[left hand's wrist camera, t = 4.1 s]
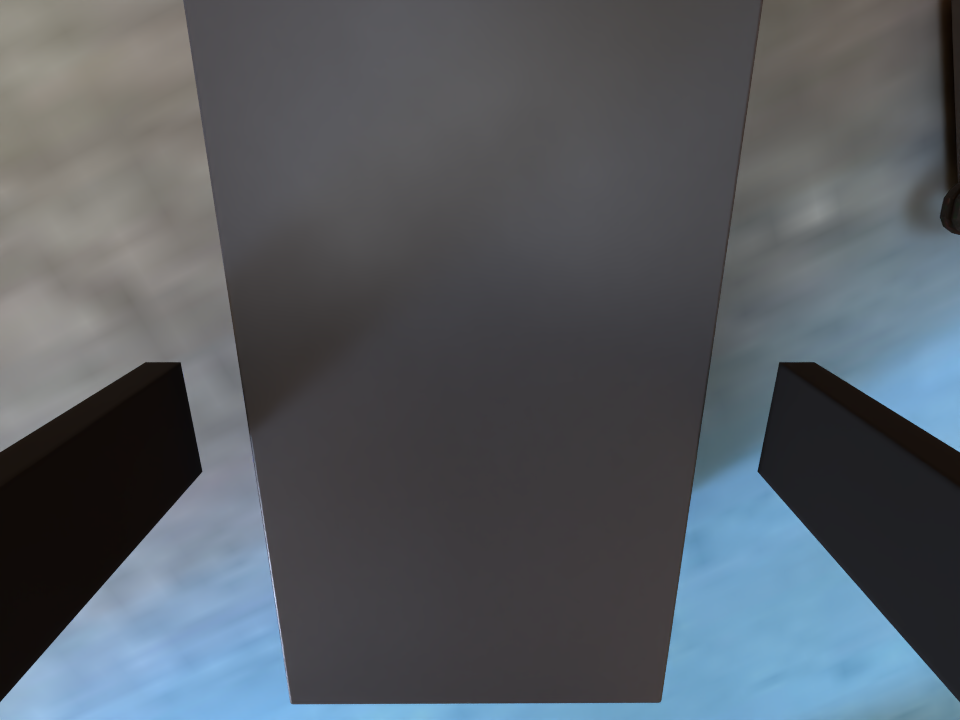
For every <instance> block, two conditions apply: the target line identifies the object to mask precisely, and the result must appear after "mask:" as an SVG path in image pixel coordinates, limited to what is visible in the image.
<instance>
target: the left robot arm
mask: <svg viewBox="0 0 960 720" xmlns="http://www.w3.org/2000/svg"><path fill="white" fill-rule="evenodd" d="M201 473H202V467H201V462H200V457H199V452H198V447H197V442H196V437H195V432H194V427H193V422H192V417H191V412H190V407H189V402H188V397H187V392H186V387H185V382H184V377H183V372H182V367H181V362H145V363H144V364H142V365H141V366H139V367H137V368H136V369H134V370H132V371H131V372H129V373H128V374H126V375H124V376H123V377H121V378H120V379H118V380H116V381H115V382H113V383H112V384H110V385H108V386H107V387H105V388H103V389H102V390H100V391H99V392H97V393H95V394H94V395H92V396H91V397H89V398H87V399H86V400H84V401H82V402H81V403H79V404H78V405H76V406H74V407H73V408H71V409H70V410H68V411H66V412H65V413H63V414H61V415H60V416H58V417H57V418H55V419H53V420H52V421H50V422H49V423H47V424H45V425H44V426H42V427H40V428H39V429H37V430H36V431H34V432H32V433H31V434H29V435H28V436H26V437H24V438H23V439H21V440H19V441H18V442H16V443H15V444H13V445H11V446H10V447H8V448H7V449H5V450H3V451H2V452H0V702H1V701H2V699H3V698H4V697H5V696H6V695H7V694H8V693H9V691H10V690H11V689H12V688H13V687H14V686H15V685H16V683H17V682H18V681H19V680H20V679H21V678H22V677H23V675H24V674H25V673H26V672H27V671H28V670H29V669H30V667H31V666H32V665H33V664H34V663H35V662H36V661H37V659H38V658H39V657H40V656H41V655H42V654H43V653H44V652H45V650H46V649H47V648H48V647H49V646H50V645H51V644H52V642H53V641H54V640H55V639H56V638H57V637H58V636H59V634H60V633H61V632H62V631H63V630H64V629H65V628H66V626H67V625H68V624H69V623H70V622H71V621H72V620H73V618H74V617H75V616H76V615H77V614H78V613H79V612H80V610H81V609H82V608H83V607H84V606H85V605H86V604H87V603H88V601H89V600H90V599H91V598H92V597H93V596H94V595H95V593H96V592H97V591H98V590H99V589H100V588H101V587H102V585H103V584H104V583H105V582H106V581H107V580H108V579H109V577H110V576H111V575H112V574H113V573H114V572H115V571H116V569H117V568H118V567H119V566H120V565H121V564H122V563H123V561H124V560H125V559H126V558H127V557H128V556H129V555H130V554H131V552H132V551H133V550H134V549H135V548H136V547H137V546H138V544H139V543H140V542H141V541H142V540H143V539H144V538H145V536H146V535H147V534H148V533H149V532H150V531H151V530H152V528H153V527H154V526H155V525H156V524H157V523H158V522H159V520H160V519H161V518H162V517H163V516H164V515H165V514H166V512H167V511H168V510H169V509H170V508H171V507H172V506H173V505H174V503H175V502H176V501H177V500H178V499H179V498H180V497H181V495H182V494H183V493H184V492H185V491H186V490H187V489H188V487H189V486H190V485H191V484H192V483H193V482H194V481H195V479H196V478H197V477H198V476H199V475H200V474H201ZM758 473H759V474H760V475H761V476H762V477H763V478H764V479H765V481H766V482H767V483H768V484H769V485H770V486H771V487H772V489H773V490H774V491H775V492H776V493H777V494H778V495H779V497H780V498H781V499H782V500H783V501H784V502H785V503H786V505H787V506H788V507H789V508H790V509H791V510H792V511H793V512H794V514H795V515H796V516H797V517H798V518H799V519H800V520H801V522H802V523H803V524H804V525H805V526H806V527H807V528H808V530H809V531H810V532H811V533H812V534H813V535H814V536H815V538H816V539H817V540H818V541H819V542H820V543H821V544H822V546H823V547H824V548H825V549H826V550H827V551H828V552H829V554H830V555H831V556H832V557H833V558H834V559H835V560H836V561H837V563H838V564H839V565H840V566H841V567H842V568H843V569H844V571H845V572H846V573H847V574H848V575H849V576H850V577H851V579H852V580H853V581H854V582H855V583H856V584H857V585H858V587H859V588H860V589H861V590H862V591H863V592H864V593H865V595H866V596H867V597H868V598H869V599H870V600H871V601H872V603H873V604H874V605H875V606H876V607H877V608H878V609H879V610H880V612H881V613H882V614H883V615H884V616H885V617H886V618H887V620H888V621H889V622H890V623H891V624H892V625H893V626H894V628H895V629H896V630H897V631H898V632H899V633H900V634H901V636H902V637H903V638H904V639H905V640H906V641H907V642H908V644H909V645H910V646H911V647H912V648H913V649H914V650H915V652H916V653H917V654H918V655H919V656H920V657H921V658H922V659H923V661H924V662H925V663H926V664H927V665H928V666H929V667H930V669H931V670H932V671H933V672H934V673H935V674H936V675H937V677H938V678H939V679H940V680H941V681H942V682H943V683H944V685H945V686H946V687H947V688H948V689H949V690H950V691H951V693H952V694H953V695H954V696H955V697H956V698H957V699H958V701H959V702H960V452H958V451H957V450H955V449H953V448H952V447H950V446H949V445H947V444H945V443H944V442H942V441H941V440H939V439H937V438H936V437H934V436H932V435H931V434H929V433H928V432H926V431H924V430H923V429H921V428H920V427H918V426H916V425H915V424H913V423H911V422H910V421H908V420H907V419H905V418H903V417H902V416H900V415H899V414H897V413H895V412H894V411H892V410H890V409H889V408H887V407H886V406H884V405H882V404H881V403H879V402H878V401H876V400H874V399H873V398H871V397H869V396H868V395H866V394H865V393H863V392H861V391H860V390H858V389H857V388H855V387H853V386H852V385H850V384H848V383H847V382H845V381H844V380H842V379H840V378H839V377H837V376H836V375H834V374H832V373H831V372H829V371H828V370H826V369H824V368H823V367H821V366H819V365H818V364H816V363H815V362H779V367H778V372H777V377H776V382H775V387H774V392H773V397H772V402H771V407H770V412H769V417H768V422H767V427H766V432H765V437H764V442H763V447H762V452H761V457H760V462H759V467H758Z"/></svg>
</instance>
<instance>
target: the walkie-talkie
mask: <svg viewBox="0 0 960 720" xmlns="http://www.w3.org/2000/svg"><path fill="white" fill-rule="evenodd" d="M951 2H952V30H953V58H954V86H955V114H956V142H957V170H958V184H956V185H955V186H954V187H952V188H951V190H950V191H949V192H948V193H947V195H946V196H945V197H944V200H943V204H942V209H941V214H940V219H941V222H942V225H943V227H945V228H946V229H947V230H949V231H950V232H951V233H954V234H958V235H960V0H951Z"/></svg>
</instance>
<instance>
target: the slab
mask: <svg viewBox="0 0 960 720" xmlns="http://www.w3.org/2000/svg"><path fill="white" fill-rule="evenodd" d="M183 1H184V7H185V14H186V20H187V27H188V33H189V40H190V47H191V53H192V60H193V66H194V73H195V79H196V86H197V93H198V99H199V106H200V112H201V119H202V125H203V132H204V139H205V145H206V152H207V158H208V165H209V171H210V178H211V184H212V191H213V198H214V204H215V211H216V217H217V224H218V230H219V237H220V244H221V250H222V257H223V263H224V270H225V276H226V283H227V290H228V296H229V303H230V309H231V316H232V322H233V329H234V336H235V342H236V349H237V355H238V362H239V368H240V375H241V381H242V388H243V395H244V401H245V408H246V414H247V421H248V427H249V434H250V441H251V447H252V454H253V460H254V467H255V473H256V480H257V487H258V493H259V500H260V506H261V513H262V519H263V526H264V532H265V539H266V546H267V552H268V559H269V565H270V572H271V578H272V585H273V592H274V598H275V605H276V611H277V618H278V624H279V631H280V638H281V644H282V651H283V657H284V664H285V670H286V677H287V684H288V690H289V697H290V703H291V704H455V703H659V702H661V699H662V692H663V685H664V678H665V671H666V665H667V658H668V651H669V644H670V637H671V630H672V623H673V616H674V610H675V603H676V596H677V589H678V582H679V575H680V568H681V561H682V554H683V548H684V541H685V534H686V527H687V520H688V513H689V506H690V499H691V492H692V486H693V479H694V472H695V465H696V458H697V451H698V444H699V437H700V431H701V424H702V417H703V410H704V403H705V396H706V389H707V382H708V375H709V369H710V362H711V355H712V348H713V341H714V334H715V327H716V320H717V314H718V307H719V300H720V293H721V286H722V279H723V272H724V265H725V258H726V252H727V245H728V238H729V231H730V224H731V217H732V210H733V203H734V197H735V190H736V183H737V176H738V169H739V162H740V155H741V148H742V141H743V135H744V128H745V121H746V114H747V107H748V100H749V93H750V86H751V79H752V73H753V66H754V59H755V52H756V45H757V38H758V31H759V24H760V18H761V11H762V4H763V0H183Z"/></svg>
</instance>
